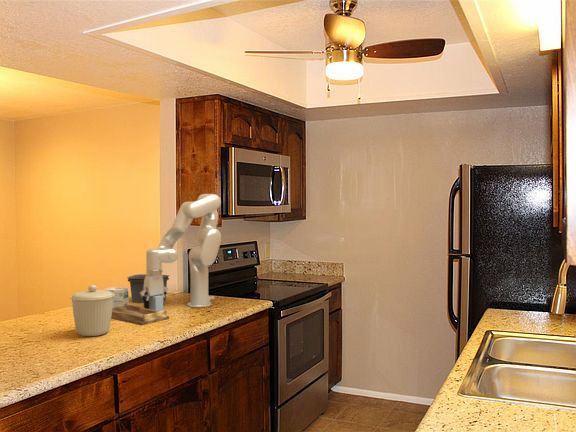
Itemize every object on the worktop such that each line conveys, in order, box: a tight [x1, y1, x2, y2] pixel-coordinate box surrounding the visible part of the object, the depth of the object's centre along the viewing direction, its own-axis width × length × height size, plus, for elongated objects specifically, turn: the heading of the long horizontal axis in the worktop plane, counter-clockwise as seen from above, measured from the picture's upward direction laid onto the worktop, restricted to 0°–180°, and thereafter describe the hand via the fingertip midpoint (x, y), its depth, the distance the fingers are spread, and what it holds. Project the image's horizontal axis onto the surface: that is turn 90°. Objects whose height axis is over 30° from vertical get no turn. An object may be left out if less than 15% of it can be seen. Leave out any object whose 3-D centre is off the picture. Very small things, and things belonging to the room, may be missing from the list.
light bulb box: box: [103, 287, 130, 308], centre depth 284 cm, size 11×7×11 cm, turn 84°
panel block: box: [145, 295, 164, 311], centre depth 278 cm, size 5×8×8 cm, turn 54°
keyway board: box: [111, 304, 170, 326], centre depth 264 cm, size 16×30×4 cm, turn 54°
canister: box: [69, 284, 115, 337], centre depth 233 cm, size 18×18×21 cm
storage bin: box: [126, 273, 170, 304], centre depth 303 cm, size 21×16×14 cm
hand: (154, 306), depth 278 cm, fingers open, 9 cm apart
